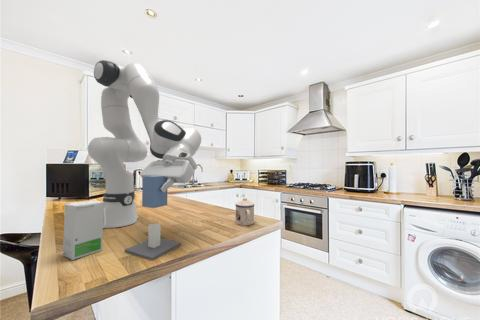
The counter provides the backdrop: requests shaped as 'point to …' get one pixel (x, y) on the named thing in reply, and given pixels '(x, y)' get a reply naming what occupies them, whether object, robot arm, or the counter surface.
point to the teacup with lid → (244, 212)
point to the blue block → (153, 191)
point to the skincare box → (82, 229)
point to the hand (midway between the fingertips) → (153, 190)
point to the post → (153, 244)
